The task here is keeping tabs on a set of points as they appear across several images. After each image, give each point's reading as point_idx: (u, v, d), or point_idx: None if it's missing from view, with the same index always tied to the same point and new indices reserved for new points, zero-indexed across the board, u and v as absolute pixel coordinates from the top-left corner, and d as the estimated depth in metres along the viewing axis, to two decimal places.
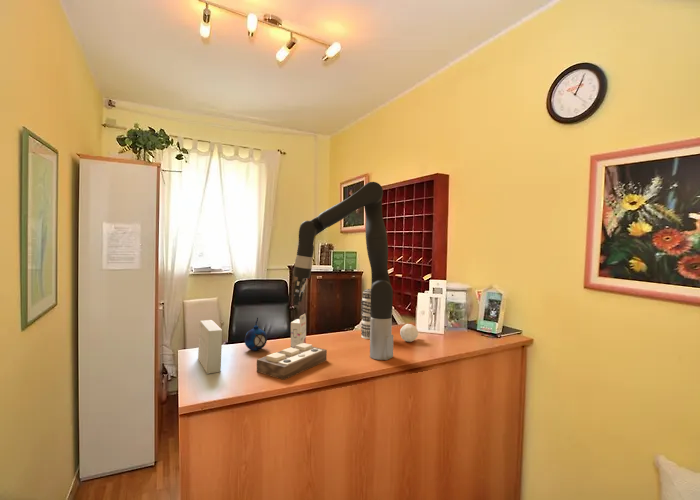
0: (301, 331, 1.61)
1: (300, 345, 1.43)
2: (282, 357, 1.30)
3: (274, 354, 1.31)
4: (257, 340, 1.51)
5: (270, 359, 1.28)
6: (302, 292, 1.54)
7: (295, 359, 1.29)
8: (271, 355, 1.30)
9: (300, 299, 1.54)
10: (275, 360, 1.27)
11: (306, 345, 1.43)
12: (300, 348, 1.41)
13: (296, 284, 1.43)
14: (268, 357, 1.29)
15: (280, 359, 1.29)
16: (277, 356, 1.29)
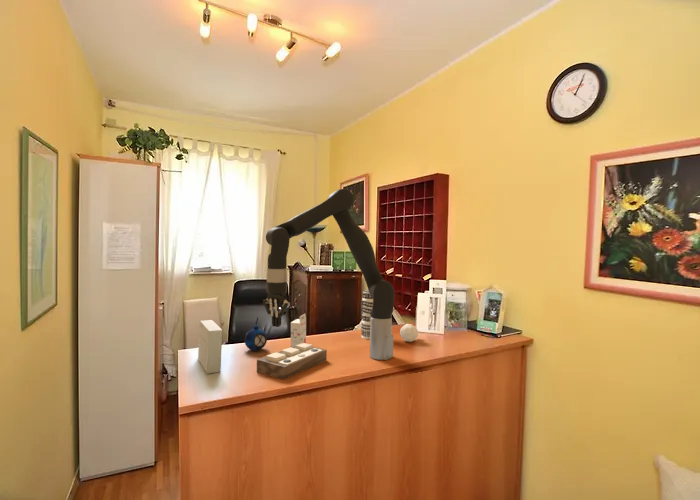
0: (301, 331, 1.61)
1: (300, 345, 1.43)
2: (282, 357, 1.30)
3: (274, 354, 1.31)
4: (257, 340, 1.51)
5: (270, 359, 1.28)
6: None
7: (295, 359, 1.29)
8: (271, 355, 1.30)
9: None
10: (275, 360, 1.27)
11: (306, 345, 1.43)
12: (300, 348, 1.41)
13: (286, 307, 1.26)
14: (268, 357, 1.29)
15: (280, 359, 1.29)
16: (277, 356, 1.29)
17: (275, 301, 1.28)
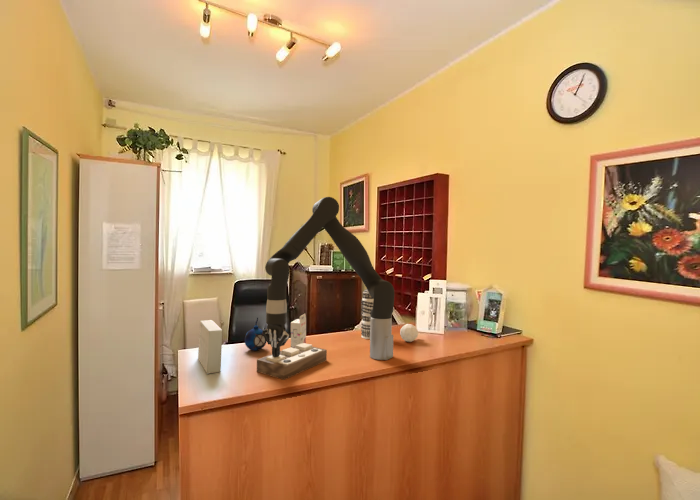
0: (301, 331, 1.61)
1: (300, 345, 1.43)
2: (282, 358, 1.30)
3: None
4: (257, 340, 1.51)
5: (270, 360, 1.28)
6: (277, 343, 1.31)
7: (295, 359, 1.29)
8: (271, 356, 1.30)
9: None
10: (275, 361, 1.27)
11: (306, 345, 1.43)
12: (300, 348, 1.41)
13: (285, 339, 1.27)
14: (268, 358, 1.29)
15: (280, 360, 1.29)
16: (277, 357, 1.29)
17: (274, 332, 1.28)
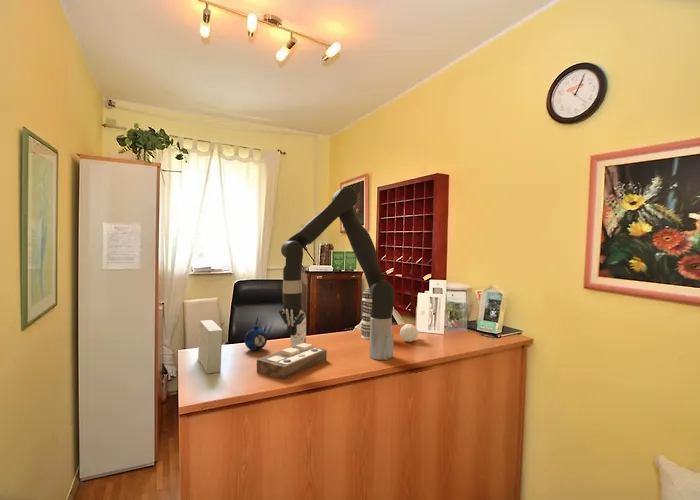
0: (301, 331, 1.61)
1: (300, 345, 1.43)
2: None
3: (274, 357, 1.31)
4: (257, 340, 1.51)
5: None
6: None
7: (295, 359, 1.29)
8: (271, 358, 1.30)
9: None
10: None
11: (306, 345, 1.43)
12: (300, 348, 1.41)
13: (302, 317, 1.33)
14: (268, 360, 1.29)
15: None
16: (277, 359, 1.29)
17: (291, 311, 1.34)
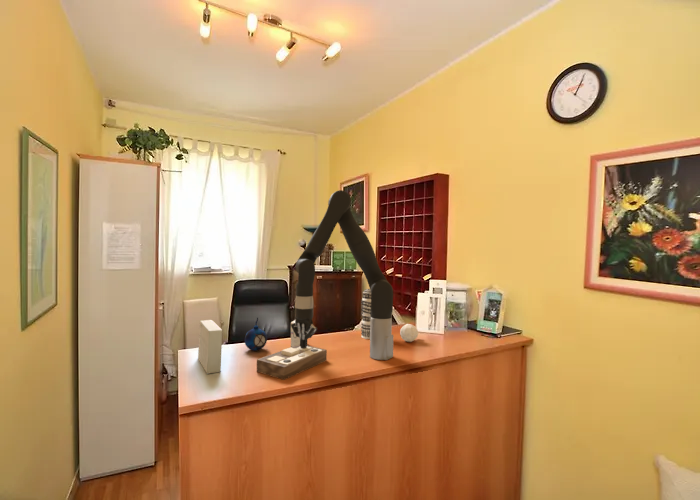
0: None
1: (300, 348, 1.43)
2: None
3: (274, 357, 1.31)
4: (257, 340, 1.51)
5: None
6: (304, 336, 1.45)
7: (295, 359, 1.29)
8: (271, 358, 1.30)
9: None
10: None
11: (306, 348, 1.43)
12: None
13: (313, 331, 1.40)
14: (268, 360, 1.29)
15: None
16: (277, 359, 1.29)
17: (303, 325, 1.41)
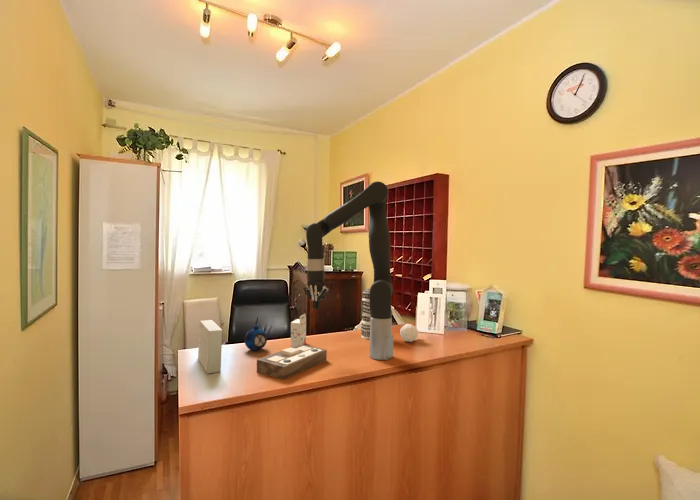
0: (301, 331, 1.61)
1: (300, 348, 1.43)
2: None
3: (274, 357, 1.31)
4: (257, 340, 1.51)
5: None
6: None
7: (295, 359, 1.29)
8: (271, 358, 1.30)
9: None
10: None
11: (306, 348, 1.43)
12: None
13: (325, 292, 1.46)
14: (268, 360, 1.29)
15: None
16: (277, 359, 1.29)
17: (315, 287, 1.47)
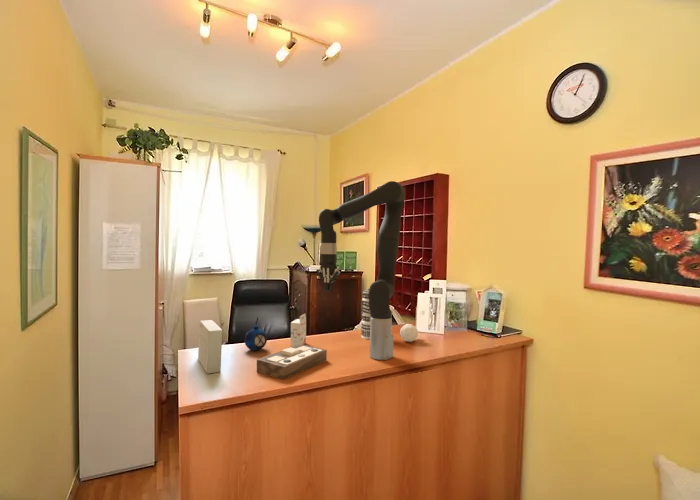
0: (301, 331, 1.61)
1: (300, 348, 1.43)
2: None
3: (274, 357, 1.31)
4: (257, 340, 1.51)
5: None
6: None
7: (295, 359, 1.29)
8: (271, 358, 1.30)
9: None
10: None
11: (306, 348, 1.43)
12: None
13: (337, 274, 1.54)
14: (268, 360, 1.29)
15: None
16: (277, 359, 1.29)
17: (328, 269, 1.55)
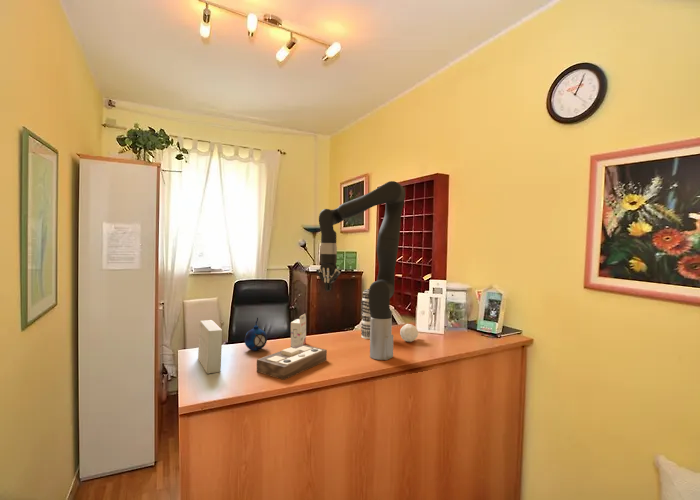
0: (301, 331, 1.61)
1: (300, 348, 1.43)
2: None
3: (274, 357, 1.31)
4: (257, 340, 1.51)
5: None
6: None
7: (295, 359, 1.29)
8: (271, 358, 1.30)
9: None
10: None
11: (306, 348, 1.43)
12: None
13: (337, 274, 1.54)
14: (268, 360, 1.29)
15: None
16: (277, 359, 1.29)
17: (328, 269, 1.55)
